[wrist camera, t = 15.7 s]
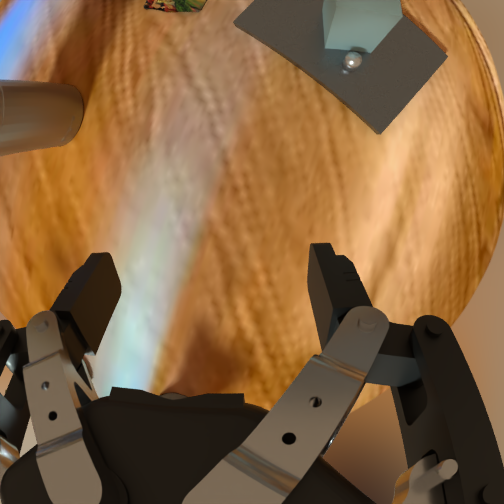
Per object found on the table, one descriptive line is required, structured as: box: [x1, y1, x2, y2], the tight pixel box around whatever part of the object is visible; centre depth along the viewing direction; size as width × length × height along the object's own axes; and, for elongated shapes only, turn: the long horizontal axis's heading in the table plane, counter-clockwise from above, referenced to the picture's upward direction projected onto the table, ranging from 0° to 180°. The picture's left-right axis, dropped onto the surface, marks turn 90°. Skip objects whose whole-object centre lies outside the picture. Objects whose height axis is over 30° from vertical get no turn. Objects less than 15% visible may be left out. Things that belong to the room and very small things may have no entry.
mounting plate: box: [233, 0, 448, 134], centre depth 23 cm, size 20×14×4 cm
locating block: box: [322, 0, 403, 53], centre depth 19 cm, size 5×5×11 cm
